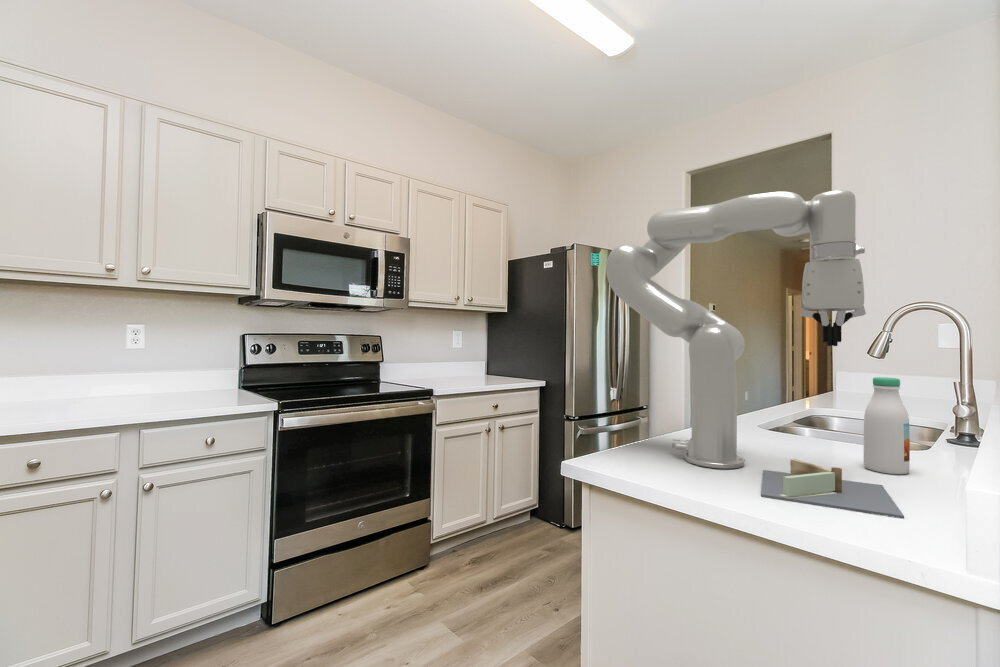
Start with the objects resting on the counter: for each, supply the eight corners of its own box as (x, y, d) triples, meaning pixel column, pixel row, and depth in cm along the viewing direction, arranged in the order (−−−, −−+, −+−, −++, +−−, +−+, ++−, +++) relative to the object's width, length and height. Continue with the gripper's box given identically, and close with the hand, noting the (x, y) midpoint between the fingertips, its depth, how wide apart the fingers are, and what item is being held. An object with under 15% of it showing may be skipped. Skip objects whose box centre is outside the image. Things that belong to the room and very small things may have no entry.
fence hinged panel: (829, 488, 88) (829, 471, 88) (835, 490, 87) (835, 473, 87) (783, 494, 84) (783, 476, 84) (788, 496, 83) (788, 478, 83)
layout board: (761, 496, 85) (761, 494, 85) (763, 471, 101) (763, 469, 101) (904, 518, 75) (904, 515, 75) (882, 487, 91) (882, 484, 91)
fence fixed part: (789, 478, 96) (789, 455, 96) (795, 477, 97) (795, 455, 97) (837, 495, 86) (837, 470, 86) (844, 494, 87) (844, 469, 87)
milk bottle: (896, 477, 97) (896, 380, 97) (855, 467, 105) (855, 376, 105) (917, 472, 101) (917, 378, 101) (876, 463, 108) (876, 375, 108)
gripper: (875, 254, 95) (875, 346, 95) (788, 260, 102) (787, 345, 102) (883, 248, 88) (882, 347, 88) (789, 254, 96) (788, 345, 96)
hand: (831, 345), depth 95 cm, fingers closed
